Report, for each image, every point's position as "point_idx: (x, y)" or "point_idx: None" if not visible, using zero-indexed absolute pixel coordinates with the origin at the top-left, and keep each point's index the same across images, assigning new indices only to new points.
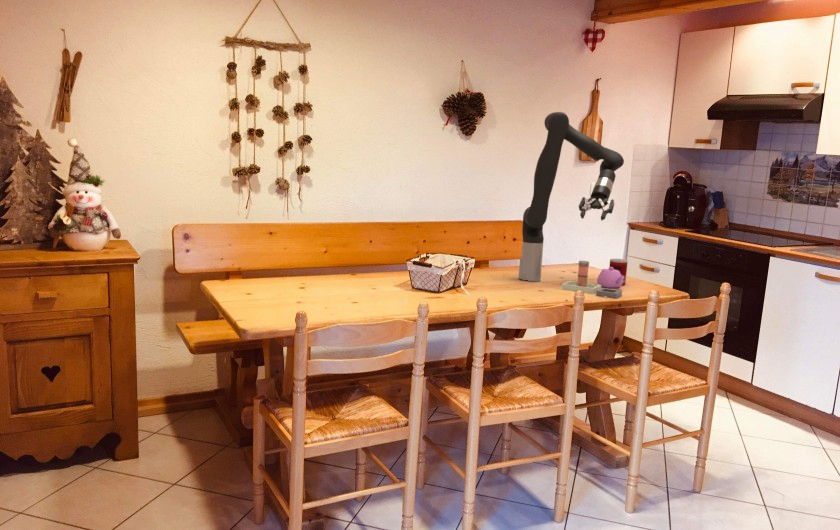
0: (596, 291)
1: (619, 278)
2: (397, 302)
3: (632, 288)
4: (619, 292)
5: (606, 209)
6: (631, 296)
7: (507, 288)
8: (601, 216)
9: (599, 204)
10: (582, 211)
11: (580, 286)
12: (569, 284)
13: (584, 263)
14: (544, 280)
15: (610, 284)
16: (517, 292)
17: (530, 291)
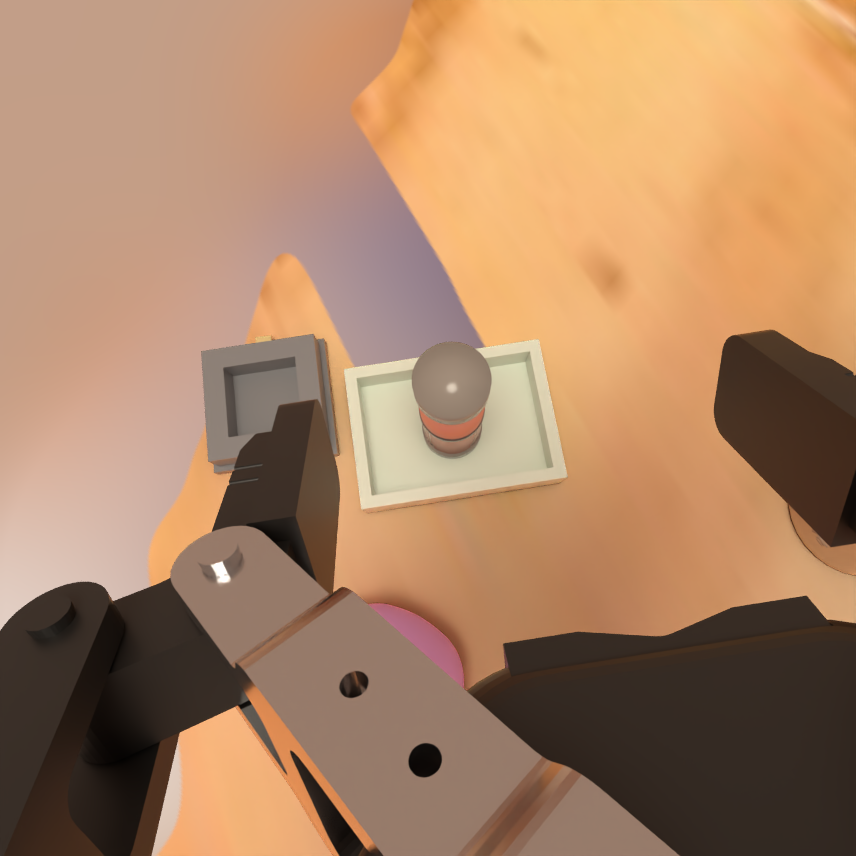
0: (313, 336)
1: None
2: None
3: (272, 817)
4: (205, 408)
5: (179, 567)
6: (190, 542)
7: (746, 190)
8: (301, 405)
9: (530, 725)
10: (845, 377)
11: None
12: (546, 451)
13: (429, 350)
14: (790, 570)
15: None
16: (650, 151)
17: (627, 218)
